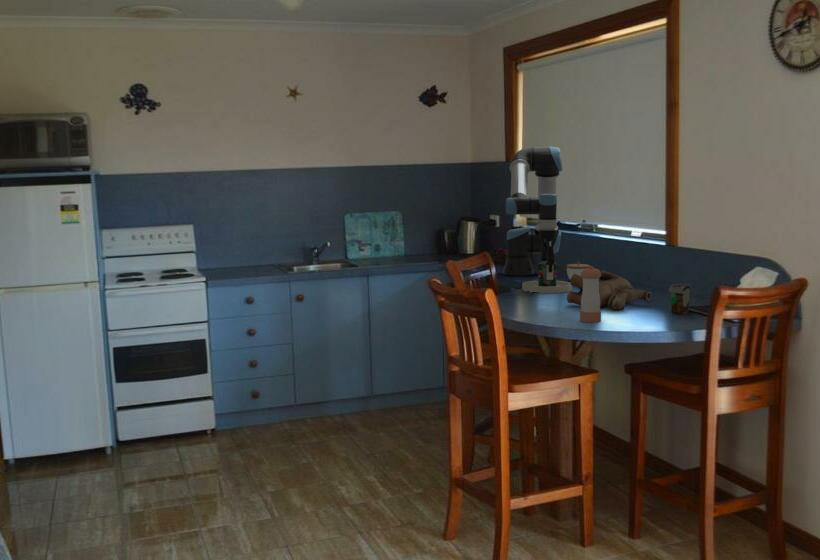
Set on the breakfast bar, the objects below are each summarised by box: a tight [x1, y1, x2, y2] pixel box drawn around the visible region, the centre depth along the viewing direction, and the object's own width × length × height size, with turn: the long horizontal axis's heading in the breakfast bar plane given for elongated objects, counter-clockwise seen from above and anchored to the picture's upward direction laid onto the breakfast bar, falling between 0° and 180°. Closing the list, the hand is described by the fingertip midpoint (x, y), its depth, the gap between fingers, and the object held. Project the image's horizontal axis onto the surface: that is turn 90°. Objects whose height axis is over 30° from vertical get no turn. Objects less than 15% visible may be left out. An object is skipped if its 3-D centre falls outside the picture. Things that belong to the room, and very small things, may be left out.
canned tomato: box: [537, 261, 557, 287], centre depth 373 cm, size 8×8×11 cm
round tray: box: [521, 279, 573, 294], centre depth 374 cm, size 21×21×3 cm
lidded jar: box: [566, 261, 591, 280], centre depth 399 cm, size 11×11×9 cm
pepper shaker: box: [579, 265, 602, 323], centre depth 296 cm, size 7×7×19 cm
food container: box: [668, 283, 691, 316], centre depth 312 cm, size 12×6×10 cm, turn 150°
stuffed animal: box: [566, 269, 652, 311], centre depth 331 cm, size 13×31×25 cm
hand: (547, 277), depth 373 cm, fingers open, 13 cm apart
